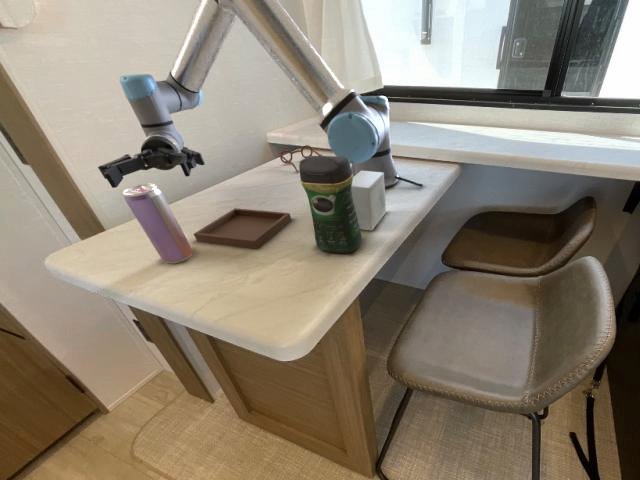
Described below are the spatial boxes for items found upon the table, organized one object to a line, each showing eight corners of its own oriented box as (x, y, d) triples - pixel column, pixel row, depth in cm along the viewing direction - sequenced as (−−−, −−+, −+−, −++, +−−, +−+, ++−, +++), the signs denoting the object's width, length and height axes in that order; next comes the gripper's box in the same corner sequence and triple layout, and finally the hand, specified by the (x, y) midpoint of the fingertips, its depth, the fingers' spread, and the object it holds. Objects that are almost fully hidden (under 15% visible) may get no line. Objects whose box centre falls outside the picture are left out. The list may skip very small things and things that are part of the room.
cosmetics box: (373, 231, 74) (368, 186, 67) (348, 228, 75) (341, 185, 69) (387, 212, 81) (384, 171, 75) (364, 210, 83) (359, 169, 76)
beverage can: (172, 267, 65) (130, 197, 56) (158, 260, 68) (114, 191, 58) (199, 254, 69) (163, 186, 59) (184, 247, 72) (148, 181, 62)
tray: (291, 220, 80) (289, 213, 79) (257, 249, 70) (254, 241, 68) (237, 215, 84) (234, 208, 83) (197, 241, 74) (193, 233, 72)
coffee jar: (366, 238, 71) (355, 151, 59) (353, 257, 65) (339, 164, 54) (327, 235, 73) (309, 149, 62) (312, 252, 68) (288, 162, 56)
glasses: (313, 157, 124) (310, 143, 121) (329, 164, 116) (326, 149, 113) (281, 165, 118) (277, 150, 115) (296, 172, 110) (293, 157, 107)
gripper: (219, 159, 87) (219, 182, 72) (114, 174, 80) (89, 204, 65) (208, 129, 82) (205, 147, 67) (94, 142, 75) (63, 166, 60)
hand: (148, 175), depth 66 cm, fingers open, 13 cm apart
